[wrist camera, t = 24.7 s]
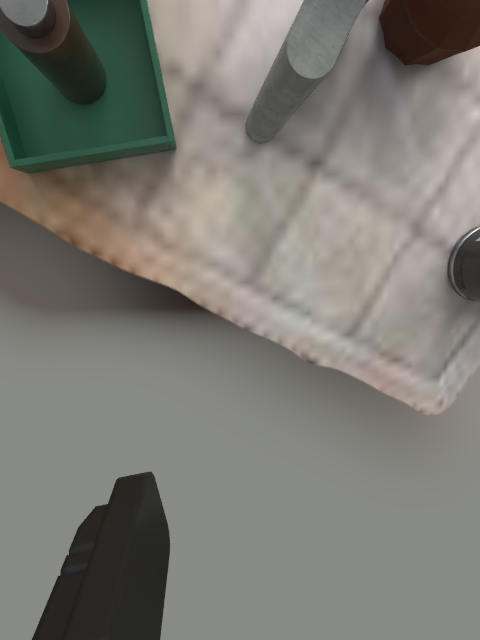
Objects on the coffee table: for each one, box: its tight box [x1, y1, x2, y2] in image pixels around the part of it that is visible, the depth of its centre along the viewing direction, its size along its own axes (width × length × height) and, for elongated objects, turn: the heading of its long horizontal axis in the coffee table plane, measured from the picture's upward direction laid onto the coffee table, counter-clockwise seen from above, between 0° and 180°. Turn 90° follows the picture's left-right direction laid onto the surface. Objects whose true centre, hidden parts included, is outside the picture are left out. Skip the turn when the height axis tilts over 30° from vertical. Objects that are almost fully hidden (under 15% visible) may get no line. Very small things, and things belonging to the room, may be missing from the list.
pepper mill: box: [0, 0, 106, 105], centre depth 29 cm, size 5×5×12 cm
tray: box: [0, 0, 176, 173], centre depth 34 cm, size 15×15×4 cm
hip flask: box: [246, 0, 368, 143], centre depth 28 cm, size 16×4×20 cm, turn 144°
